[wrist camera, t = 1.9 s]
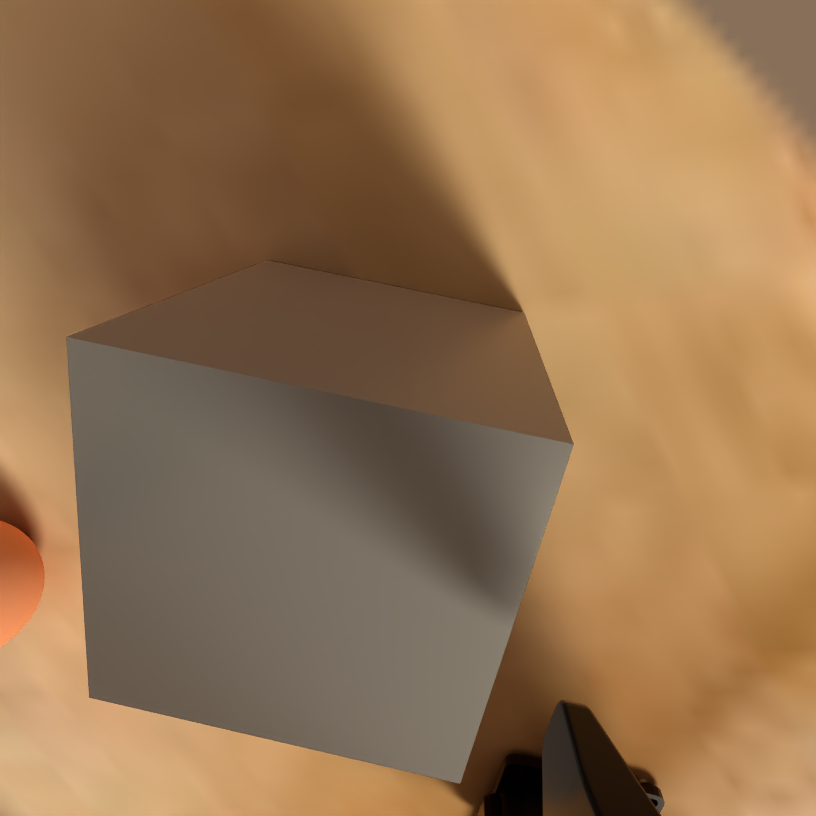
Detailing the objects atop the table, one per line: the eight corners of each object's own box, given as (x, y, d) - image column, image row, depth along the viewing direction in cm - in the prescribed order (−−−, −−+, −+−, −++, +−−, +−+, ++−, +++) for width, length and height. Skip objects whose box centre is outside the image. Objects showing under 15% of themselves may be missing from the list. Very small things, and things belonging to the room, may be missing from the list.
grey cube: (524, 312, 16) (573, 444, 8) (466, 529, 19) (460, 784, 11) (267, 260, 16) (66, 336, 8) (249, 482, 19) (88, 697, 11)
